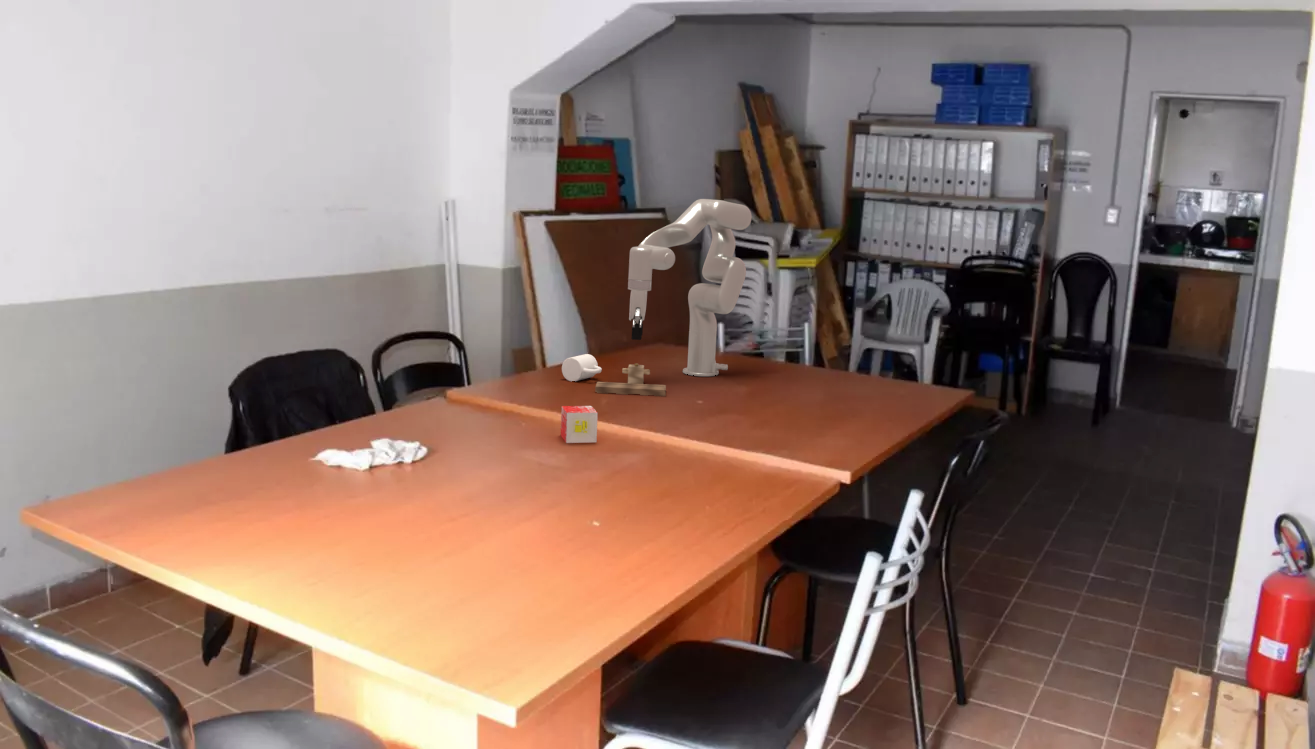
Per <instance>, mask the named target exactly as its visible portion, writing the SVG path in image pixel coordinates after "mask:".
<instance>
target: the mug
mask: <svg viewBox="0 0 1315 749" xmlns="http://www.w3.org/2000/svg"><path fill="white" fill-rule="evenodd" d="M561 365H562V366H561V373H562V375H563V377H564V379H566V381H569V382H572V381H575V382H578V381H581V380H586V379H589V378H593V377H594V376H595V375H596V374H600V373H601V372H603V370H602V369H603V368H602V367H601V366H598V365H599V364H598V361H597V360H596V358H595V356H593V355H592V354H590V353H589V354H588V353H585V354H579V355H576V356H572V357H567V358H566V359H565V360H564V361H563V362H562V364H561Z"/></svg>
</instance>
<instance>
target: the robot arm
mask: <svg viewBox="0 0 1315 749" xmlns="http://www.w3.org/2000/svg"><path fill="white" fill-rule="evenodd" d="M752 217H753V216H752V212H751V210H750V209H749V207H748V206H747V205H745V204H739V203H735V202H730V201H726V200H722V199H721V200H720V199H710V198H698V199H697V200H695V201H694V202H692V203H691V205H689V206H688V208H686V209H685V211H684V212H683V213H682V214H681V215H680V216H679V217H678V218H677V219H676V220H674V222H672V223H669V224H667V225H666V226H663V227H661V228H659V229H657V230H656V231H653V232H651V233H650V234H649V235H648V236H646V237H645V238H644V239H643V240H642V242H640V243H639V245H638V246H632V247H631V248H630V250H629V257H628V258H629V260H628V262H629V263H628V278H627V280H628V282H627V290H630V298H629V317H628V320H629V321H632V327H631V340H634V341H642V336H643V330H644V328H643V327H644V323H643V321H645V316H646V312H647V311H646V310H647V299H648V292H650V291H652V277H653V275H652V274H653V270H659V271H665V270H669V269H670V268H673V266H674V264H675V262H676V255H675V253H674V251H673V250H672V249H671V248H672V247H676V246H677V247H678V246H682V245H685V244H688V243H690V242H692V241H693V240H694V238H696V237H697V235H698V234H700V233H701V232H702V230H704V228H705V227H706V226H709V228H710V232H711V237H712V238H711V244H710V246H709V249H708V252H707V255H706V258H705V260H704V262H703V267H702V270H701V275H702V277H703V279H705V280H706V281H708V282H712V283H713V284H712V283H701V282H699V283H696V284H694V285H692V286H691V288H690V289H689V291H688V293H687V294H688V296H687V300H688V308H689V329H688V330H689V331H688V348H687V349H688V350H687V352H688V353H687V367H684V368H683V369H682V373H683V374H685V375H687V374H688V376H693V375H694V376H695V377H716V376H718V375H719V374H720V373H719V370H722V371H728V368H729V366H728V364H725V363H717V361H716V350H717V349H716V348H717V346H716V345H717V334H718V333H717V332H718V331H717V330H718V328H717V327H718V324H717V322H718V321H717V318H716V315H715V314H720V315H727V314H729V313H731V312H732V311H733V310H734V308H735V307H736V304H737V302H738V299H739V296H740V293H741V291H742V288H743V285H744V282H745V279H746V274H747V269H746V268H747V267H746V264H745V262H744V261H743V260H742V258H739V257H736V256H734V253H735V249H736V244H737V243H736V237H735V236H734V233H733V230H738V231H742V230H745V229H747V228H748V227H749V226H750V225H751V221H752V219H753V218H752ZM714 283H718V284H720V285H718V284H714ZM715 375H716V376H715ZM694 376H693V377H694Z"/></svg>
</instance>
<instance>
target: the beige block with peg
mask: <svg viewBox="0 0 1315 749" xmlns="http://www.w3.org/2000/svg"><path fill="white" fill-rule="evenodd" d="M621 370H622V374H627V383H633V384H644V378H645V377H644V375H647V376H648V375H651V372H650V371H651V370H650V369H648V368H647V369H646V368H645V365H643V364H639V362H638V363H634V364H628V367H627V368H626V367H625V368H624V367H622V369H621Z"/></svg>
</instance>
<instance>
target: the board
mask: <svg viewBox="0 0 1315 749" xmlns="http://www.w3.org/2000/svg"><path fill="white" fill-rule="evenodd" d="M666 390H667V385H666V384H654V383H653V384H650V383H645V384H644V383H643V384H633V383H628V382H611V381H609V382H608V381H596V384H595V390H594V391H595V392H597V393H596V394H608V393H616V394H615V395H628V394H640V395H639V396H648V395H654V396H655V397H666ZM654 396H653V397H654Z"/></svg>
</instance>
